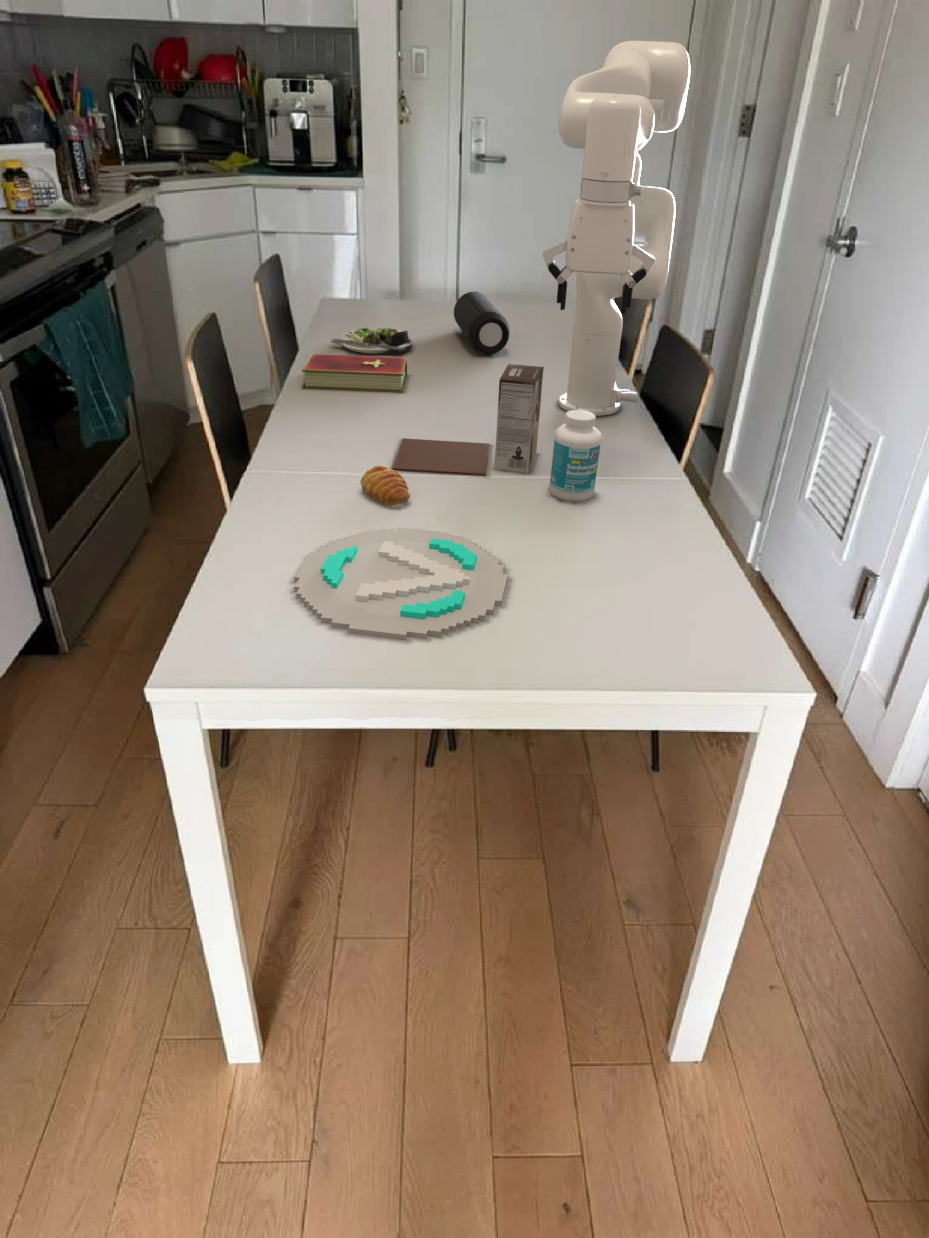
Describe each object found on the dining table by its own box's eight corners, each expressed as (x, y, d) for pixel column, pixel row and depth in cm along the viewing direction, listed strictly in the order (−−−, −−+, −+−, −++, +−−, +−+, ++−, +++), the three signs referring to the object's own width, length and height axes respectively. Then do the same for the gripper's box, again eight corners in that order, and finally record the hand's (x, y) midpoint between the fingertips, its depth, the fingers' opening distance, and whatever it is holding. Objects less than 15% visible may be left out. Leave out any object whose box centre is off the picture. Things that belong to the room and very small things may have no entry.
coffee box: (502, 450, 161) (507, 362, 152) (536, 454, 160) (544, 366, 151) (493, 469, 153) (498, 378, 144) (529, 474, 152) (537, 382, 143)
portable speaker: (511, 357, 210) (513, 314, 205) (470, 358, 208) (471, 314, 203) (488, 329, 231) (490, 289, 226) (451, 329, 229) (452, 289, 224)
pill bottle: (564, 506, 142) (573, 425, 134) (540, 488, 147) (547, 410, 140) (603, 498, 145) (613, 419, 137) (577, 481, 150) (586, 404, 143)
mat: (489, 445, 162) (489, 443, 162) (485, 476, 151) (485, 473, 150) (402, 440, 163) (402, 438, 163) (392, 470, 151) (392, 468, 151)
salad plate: (332, 358, 205) (331, 337, 202) (329, 336, 219) (329, 317, 217) (415, 357, 208) (415, 337, 205) (407, 336, 222) (407, 317, 220)
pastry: (420, 503, 140) (420, 481, 138) (382, 512, 137) (381, 490, 135) (392, 482, 147) (392, 460, 145) (356, 490, 144) (355, 468, 142)
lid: (489, 650, 107) (490, 639, 106) (267, 623, 110) (266, 612, 109) (516, 544, 130) (516, 534, 129) (332, 524, 133) (331, 515, 132)
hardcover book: (312, 371, 196) (311, 352, 194) (407, 375, 196) (407, 356, 194) (303, 388, 186) (301, 368, 183) (402, 392, 186) (402, 372, 184)
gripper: (661, 192, 135) (645, 308, 144) (548, 186, 136) (539, 301, 145) (665, 199, 129) (648, 319, 138) (547, 192, 130) (537, 312, 139)
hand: (592, 310), depth 142 cm, fingers open, 9 cm apart
